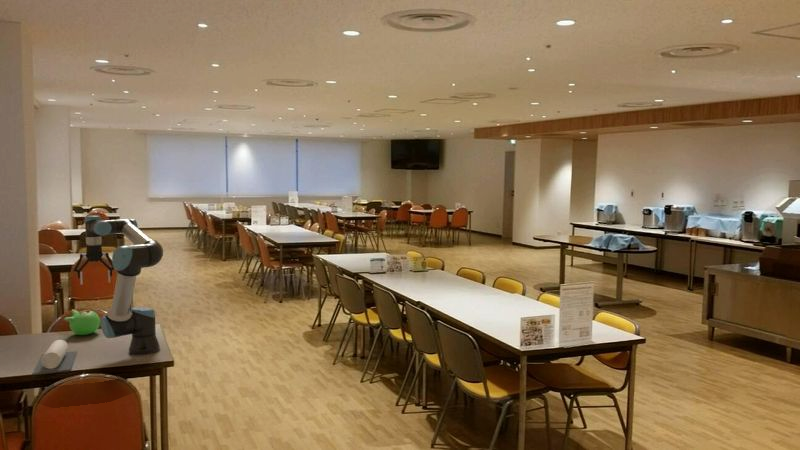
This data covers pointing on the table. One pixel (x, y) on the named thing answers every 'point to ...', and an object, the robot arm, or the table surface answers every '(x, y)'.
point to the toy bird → (83, 322)
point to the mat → (62, 367)
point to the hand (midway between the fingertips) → (95, 283)
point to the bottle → (55, 354)
